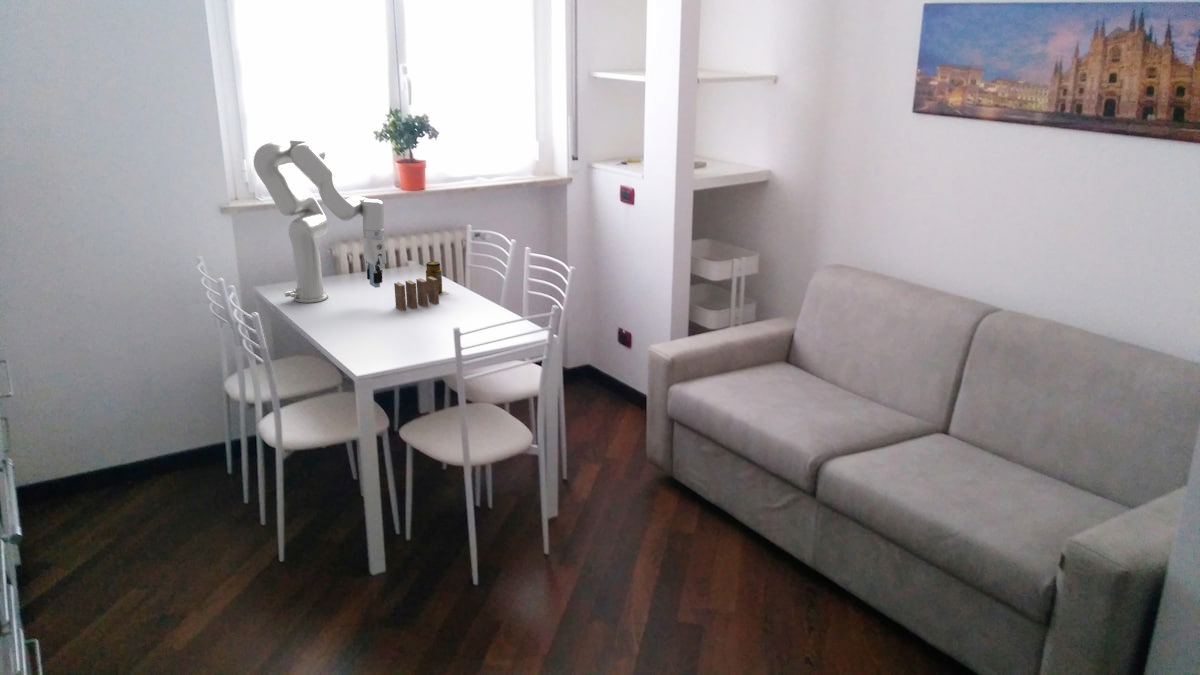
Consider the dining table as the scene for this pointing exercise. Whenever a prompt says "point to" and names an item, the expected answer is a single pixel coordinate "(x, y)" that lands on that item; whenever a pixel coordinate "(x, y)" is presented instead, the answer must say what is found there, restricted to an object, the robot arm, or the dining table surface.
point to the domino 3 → (411, 294)
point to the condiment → (435, 275)
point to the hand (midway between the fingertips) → (374, 280)
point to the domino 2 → (400, 296)
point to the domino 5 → (433, 290)
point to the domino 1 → (373, 275)
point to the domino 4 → (422, 292)
